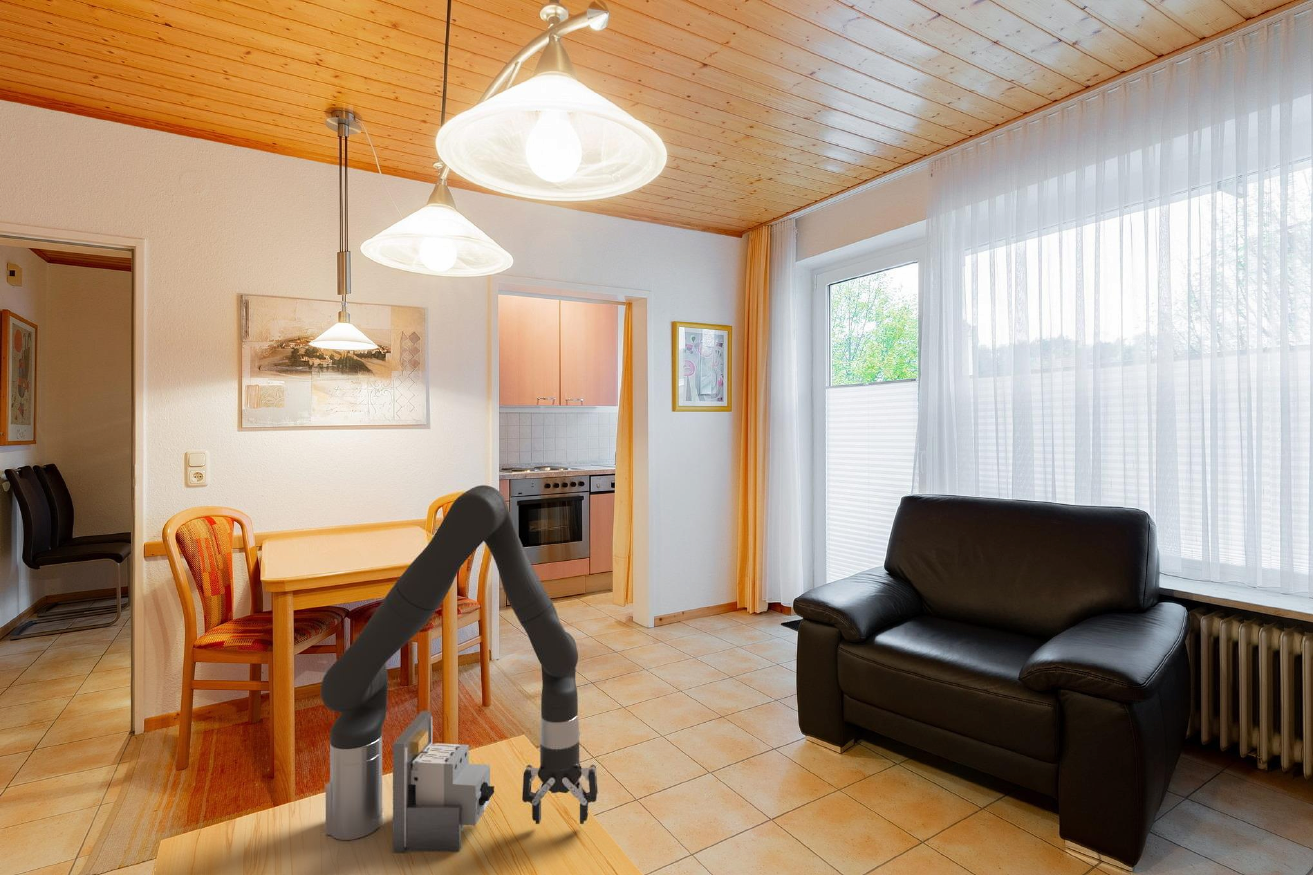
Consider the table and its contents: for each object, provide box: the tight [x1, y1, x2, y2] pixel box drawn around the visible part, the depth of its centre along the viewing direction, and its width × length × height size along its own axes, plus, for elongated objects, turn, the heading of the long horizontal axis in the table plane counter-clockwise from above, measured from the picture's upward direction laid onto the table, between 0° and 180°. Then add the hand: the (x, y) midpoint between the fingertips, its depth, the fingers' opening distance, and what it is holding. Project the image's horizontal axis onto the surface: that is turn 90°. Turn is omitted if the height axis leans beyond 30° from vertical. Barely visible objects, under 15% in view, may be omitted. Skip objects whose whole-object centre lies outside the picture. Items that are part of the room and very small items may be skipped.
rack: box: [392, 710, 462, 854], centre depth 124 cm, size 12×14×20 cm
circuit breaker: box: [411, 742, 495, 832], centre depth 124 cm, size 8×14×15 cm, turn 84°
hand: (560, 821), depth 124 cm, fingers open, 8 cm apart
